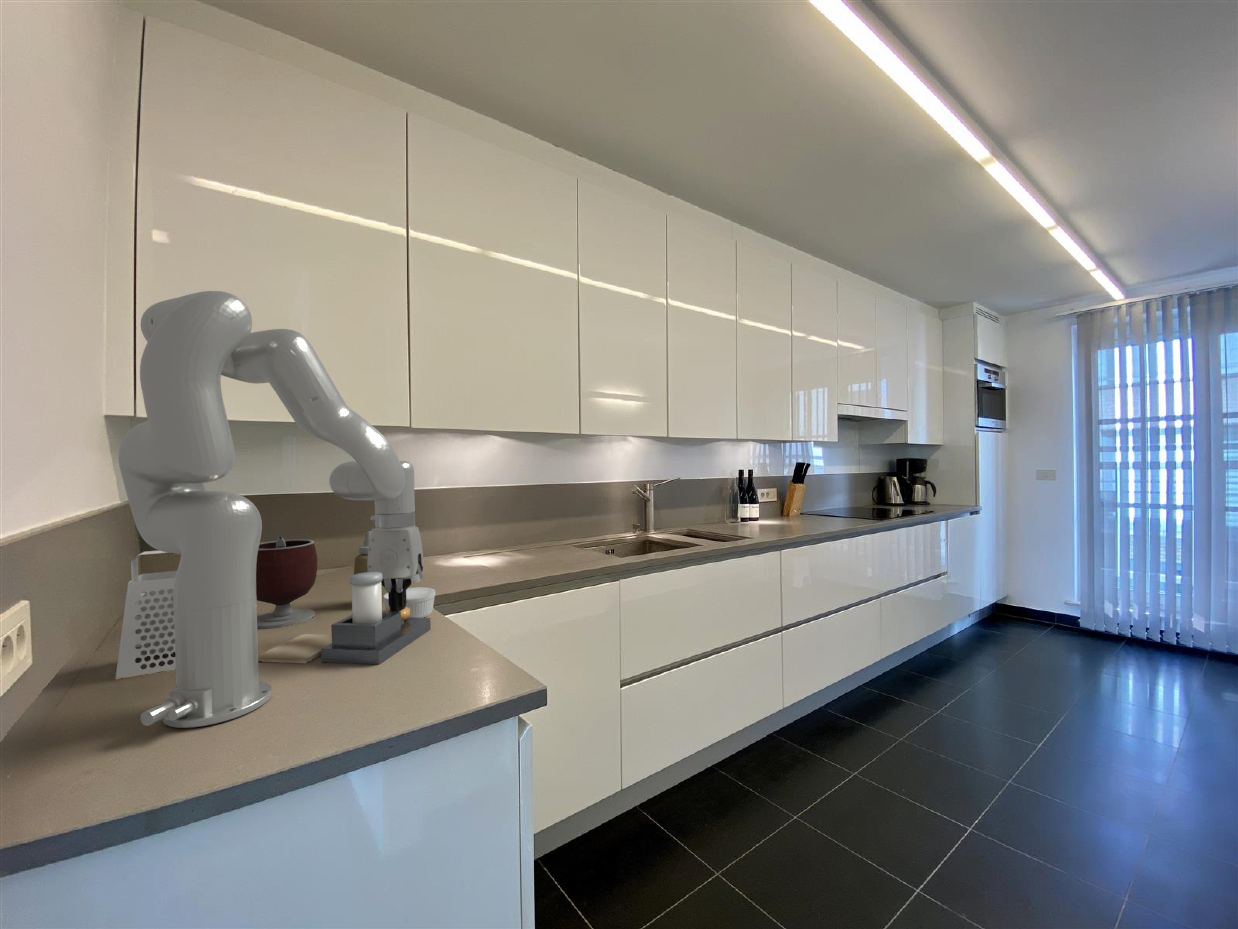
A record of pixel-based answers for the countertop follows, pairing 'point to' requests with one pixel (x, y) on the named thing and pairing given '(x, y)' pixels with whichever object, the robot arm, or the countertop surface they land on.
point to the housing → (372, 639)
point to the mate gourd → (285, 580)
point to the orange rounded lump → (404, 614)
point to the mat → (297, 649)
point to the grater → (147, 621)
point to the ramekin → (417, 601)
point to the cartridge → (366, 597)
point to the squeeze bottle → (364, 560)
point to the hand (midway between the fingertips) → (397, 610)
